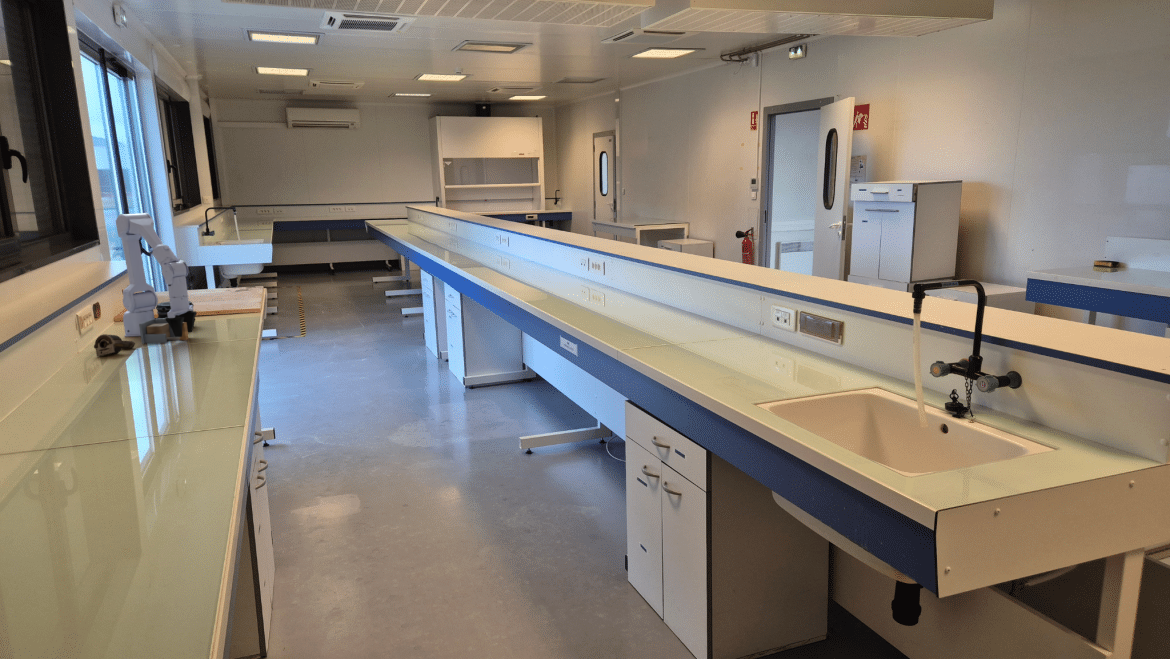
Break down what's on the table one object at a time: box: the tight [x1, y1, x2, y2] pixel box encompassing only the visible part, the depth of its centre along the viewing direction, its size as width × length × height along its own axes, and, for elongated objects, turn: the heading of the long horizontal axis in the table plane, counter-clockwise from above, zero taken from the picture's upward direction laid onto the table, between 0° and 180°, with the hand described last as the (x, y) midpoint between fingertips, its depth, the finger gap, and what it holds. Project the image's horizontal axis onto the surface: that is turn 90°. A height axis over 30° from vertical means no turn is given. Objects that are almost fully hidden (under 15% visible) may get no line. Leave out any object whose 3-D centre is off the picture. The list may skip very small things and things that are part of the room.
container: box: [155, 300, 196, 329], centre depth 278 cm, size 13×13×10 cm
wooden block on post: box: [147, 322, 190, 341], centre depth 258 cm, size 12×5×6 cm, turn 93°
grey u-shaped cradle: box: [139, 318, 175, 345], centre depth 257 cm, size 8×10×7 cm
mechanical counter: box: [93, 333, 136, 357], centre depth 240 cm, size 7×13×10 cm
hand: (183, 334), depth 258 cm, fingers open, 7 cm apart
